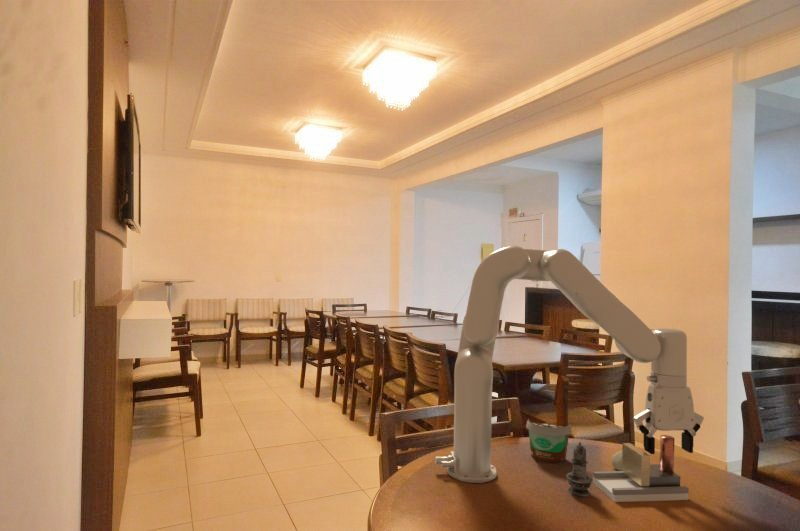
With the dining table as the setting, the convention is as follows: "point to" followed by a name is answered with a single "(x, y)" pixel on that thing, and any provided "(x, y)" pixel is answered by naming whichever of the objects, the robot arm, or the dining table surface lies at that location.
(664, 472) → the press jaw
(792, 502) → the dining table surface
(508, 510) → the dining table surface
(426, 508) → the dining table surface
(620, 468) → the sea urchin shell
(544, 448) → the food container
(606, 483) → the press bed
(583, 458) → the grey figurine
